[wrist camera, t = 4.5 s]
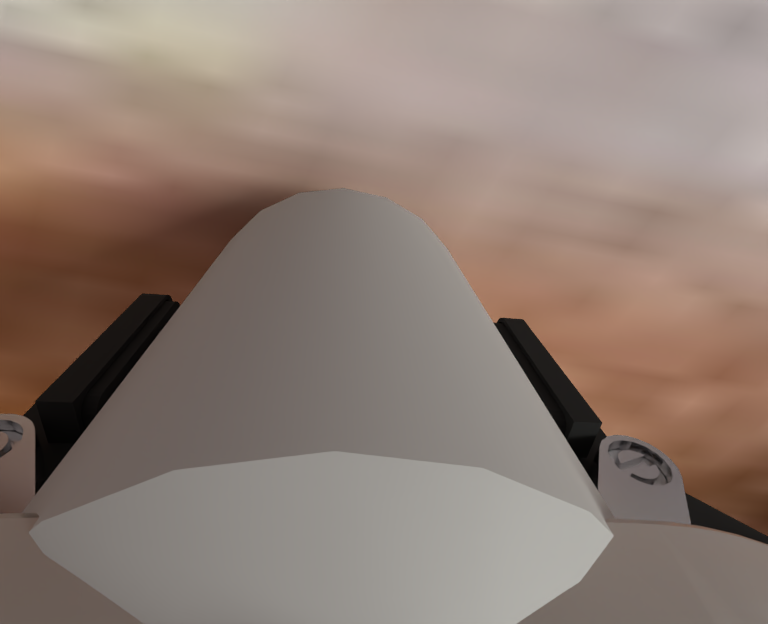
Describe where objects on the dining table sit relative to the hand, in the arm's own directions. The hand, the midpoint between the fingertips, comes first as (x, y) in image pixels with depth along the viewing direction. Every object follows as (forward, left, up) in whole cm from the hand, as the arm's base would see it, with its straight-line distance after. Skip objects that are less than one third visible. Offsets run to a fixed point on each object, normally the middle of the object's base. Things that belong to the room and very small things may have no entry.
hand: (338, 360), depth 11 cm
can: (0, 0, -4) cm, 4 cm away
